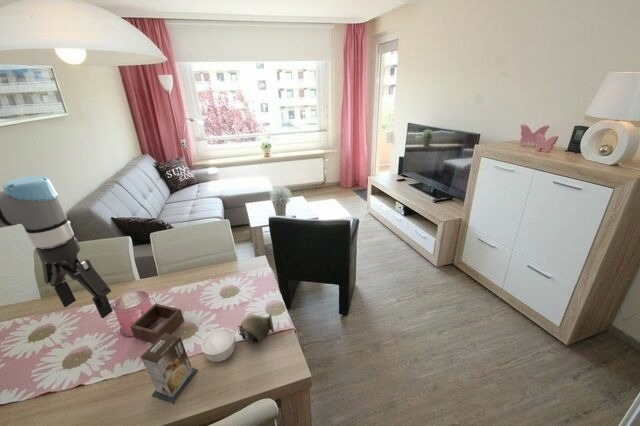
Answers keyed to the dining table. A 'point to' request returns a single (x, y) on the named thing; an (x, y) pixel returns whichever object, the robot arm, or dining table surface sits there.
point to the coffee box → (167, 364)
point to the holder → (151, 316)
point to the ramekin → (218, 344)
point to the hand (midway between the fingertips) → (88, 308)
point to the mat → (174, 398)
